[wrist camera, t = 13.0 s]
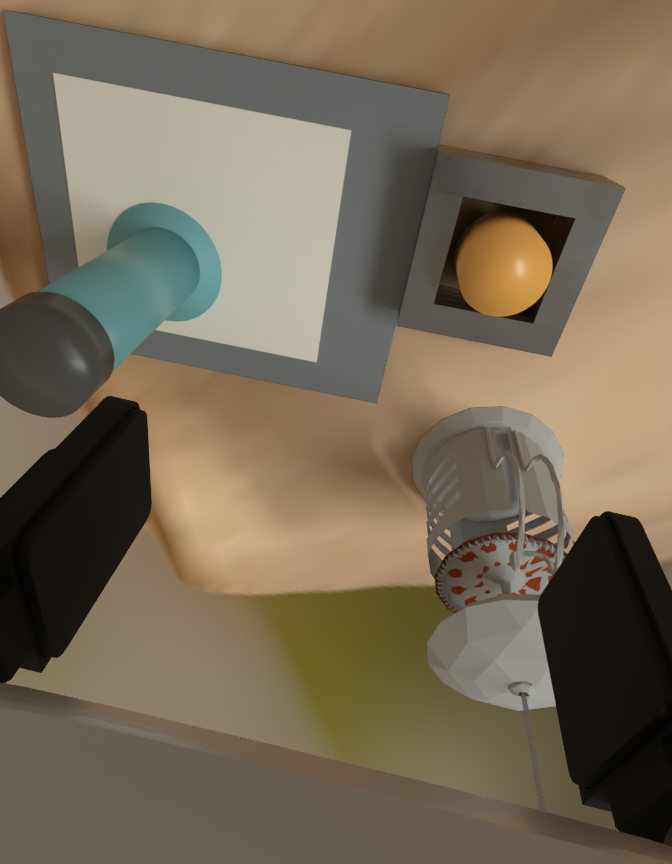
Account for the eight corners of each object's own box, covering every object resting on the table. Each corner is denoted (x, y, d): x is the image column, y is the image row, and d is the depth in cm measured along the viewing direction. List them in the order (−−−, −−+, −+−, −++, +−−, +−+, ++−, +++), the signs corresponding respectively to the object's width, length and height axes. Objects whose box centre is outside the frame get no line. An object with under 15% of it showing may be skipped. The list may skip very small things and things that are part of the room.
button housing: (604, 176, 24) (625, 188, 22) (540, 332, 29) (551, 356, 27) (436, 144, 25) (438, 152, 22) (398, 304, 29) (397, 325, 27)
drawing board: (448, 94, 23) (449, 95, 22) (377, 395, 33) (376, 405, 32) (17, 12, 24) (-1, 9, 23) (67, 332, 33) (56, 340, 32)
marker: (201, 233, 27) (79, 325, 17) (201, 309, 30) (94, 427, 20) (123, 218, 27) (-43, 301, 17) (129, 295, 30) (-13, 405, 20)
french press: (402, 513, 38) (384, 1026, 18) (426, 371, 31) (440, 931, 11) (540, 531, 37) (690, 1089, 17) (595, 389, 31) (952, 1028, 10)
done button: (552, 220, 24) (567, 236, 22) (522, 301, 27) (532, 324, 24) (468, 203, 24) (474, 218, 22) (445, 286, 27) (447, 307, 24)
